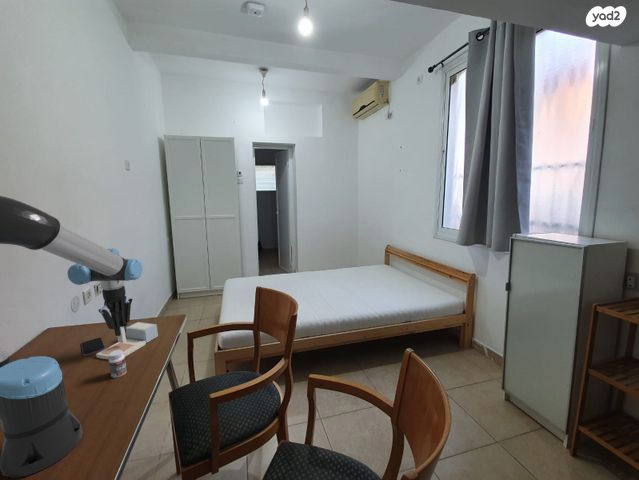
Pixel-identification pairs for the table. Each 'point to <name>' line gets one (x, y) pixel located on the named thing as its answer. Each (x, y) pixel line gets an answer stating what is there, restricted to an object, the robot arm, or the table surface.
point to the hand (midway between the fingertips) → (122, 341)
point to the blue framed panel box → (142, 331)
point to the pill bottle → (117, 364)
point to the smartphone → (92, 346)
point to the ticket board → (122, 348)
